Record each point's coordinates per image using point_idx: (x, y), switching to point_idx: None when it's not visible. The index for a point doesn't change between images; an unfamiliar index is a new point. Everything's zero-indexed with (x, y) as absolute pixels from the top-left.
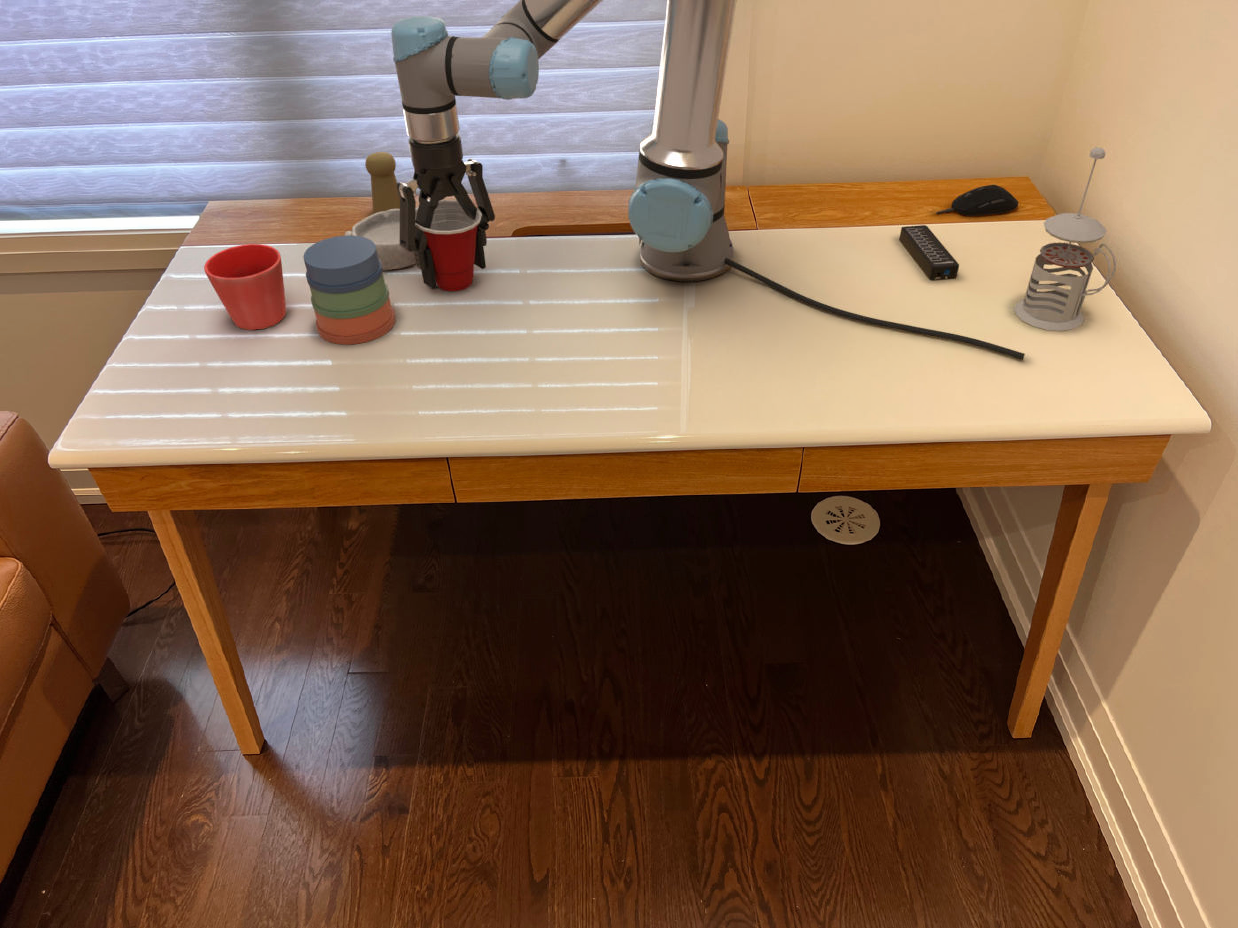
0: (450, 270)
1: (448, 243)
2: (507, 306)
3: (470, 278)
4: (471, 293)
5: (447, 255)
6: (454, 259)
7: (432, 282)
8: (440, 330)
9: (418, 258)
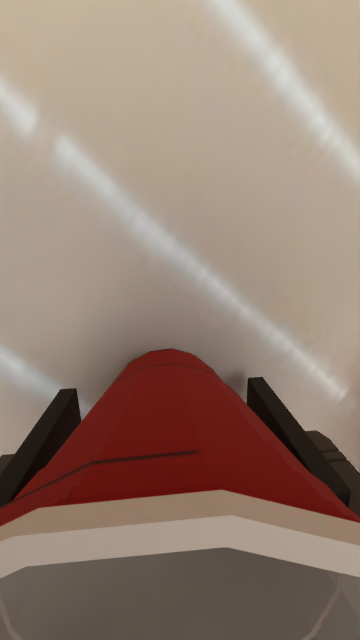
0: (220, 383)
1: (286, 464)
2: (114, 161)
3: (138, 361)
4: (162, 317)
5: (253, 420)
6: (216, 395)
7: (269, 389)
8: (356, 188)
9: (358, 477)
